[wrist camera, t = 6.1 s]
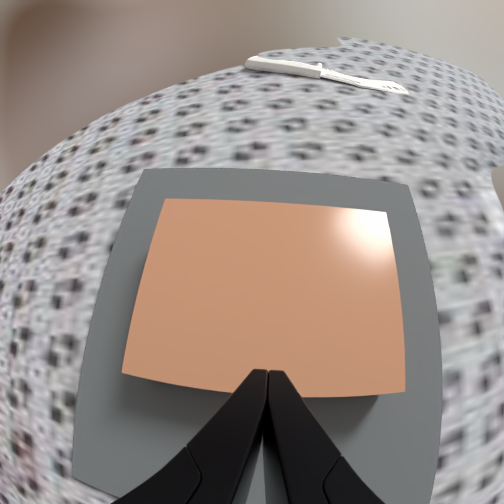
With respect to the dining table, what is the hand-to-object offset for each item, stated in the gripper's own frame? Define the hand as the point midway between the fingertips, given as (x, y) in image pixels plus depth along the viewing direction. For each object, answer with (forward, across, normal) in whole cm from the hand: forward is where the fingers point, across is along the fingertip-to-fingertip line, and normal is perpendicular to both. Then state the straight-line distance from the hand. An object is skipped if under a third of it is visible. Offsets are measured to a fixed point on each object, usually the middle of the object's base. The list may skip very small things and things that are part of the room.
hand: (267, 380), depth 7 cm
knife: (+33, -10, -21) cm, 40 cm away
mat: (+8, 0, +3) cm, 8 cm away
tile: (+4, 0, +4) cm, 6 cm away
